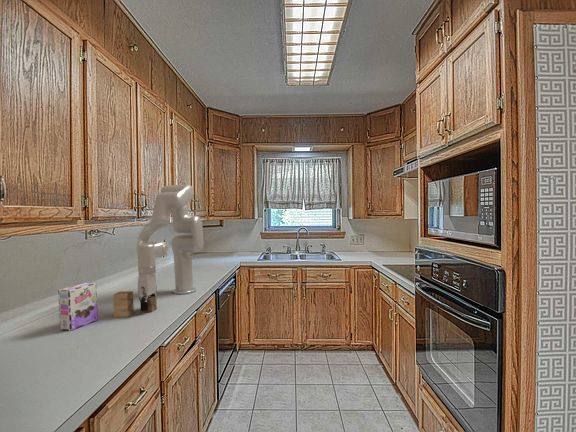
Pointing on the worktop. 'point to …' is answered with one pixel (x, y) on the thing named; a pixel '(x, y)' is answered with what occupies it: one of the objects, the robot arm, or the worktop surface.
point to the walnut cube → (151, 304)
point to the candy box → (77, 306)
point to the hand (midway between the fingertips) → (148, 307)
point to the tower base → (123, 310)
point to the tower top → (123, 298)
